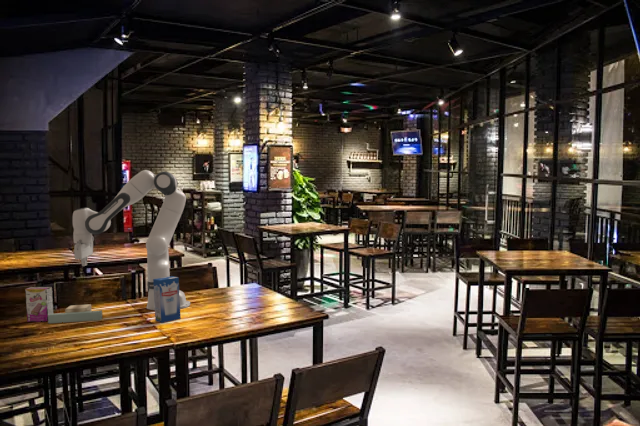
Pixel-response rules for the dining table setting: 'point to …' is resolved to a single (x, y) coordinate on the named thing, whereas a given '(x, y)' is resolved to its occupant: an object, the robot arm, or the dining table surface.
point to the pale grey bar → (75, 316)
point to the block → (78, 308)
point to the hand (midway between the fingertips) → (84, 265)
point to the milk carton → (166, 299)
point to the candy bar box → (39, 303)
